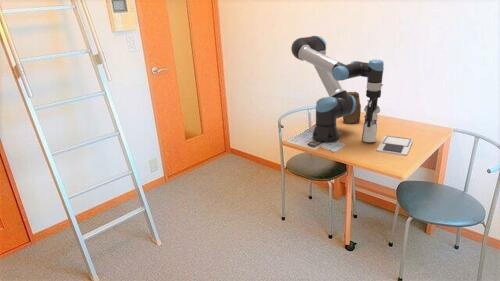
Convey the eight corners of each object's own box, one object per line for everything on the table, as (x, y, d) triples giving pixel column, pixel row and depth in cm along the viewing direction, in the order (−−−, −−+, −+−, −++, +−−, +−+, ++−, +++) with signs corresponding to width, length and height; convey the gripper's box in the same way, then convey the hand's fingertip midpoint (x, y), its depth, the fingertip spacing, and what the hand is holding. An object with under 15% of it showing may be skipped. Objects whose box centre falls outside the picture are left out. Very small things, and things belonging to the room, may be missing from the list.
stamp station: (376, 151, 191) (376, 148, 190) (385, 137, 208) (385, 134, 208) (406, 155, 183) (407, 153, 183) (412, 140, 201) (413, 138, 201)
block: (342, 123, 233) (344, 93, 226) (342, 120, 240) (343, 91, 233) (360, 124, 231) (362, 93, 224) (359, 120, 238) (361, 91, 230)
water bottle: (378, 142, 198) (382, 98, 189) (362, 142, 200) (365, 98, 190) (376, 137, 205) (380, 94, 196) (360, 136, 207) (364, 94, 198)
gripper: (376, 94, 182) (372, 136, 190) (385, 85, 198) (381, 124, 206) (361, 93, 185) (358, 134, 194) (371, 84, 201) (367, 123, 210)
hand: (370, 129), depth 200 cm, fingers closed on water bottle, 7 cm apart
